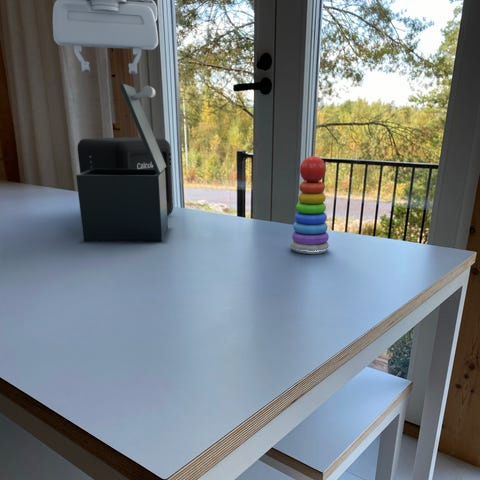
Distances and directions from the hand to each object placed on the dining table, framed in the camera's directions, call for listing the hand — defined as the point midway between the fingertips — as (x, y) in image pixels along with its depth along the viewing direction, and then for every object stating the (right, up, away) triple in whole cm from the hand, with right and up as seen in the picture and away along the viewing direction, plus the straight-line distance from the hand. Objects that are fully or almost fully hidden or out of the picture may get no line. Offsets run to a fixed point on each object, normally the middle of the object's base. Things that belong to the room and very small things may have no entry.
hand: (110, 72), depth 97 cm
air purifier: (-2, -23, +31) cm, 39 cm away
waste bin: (+1, -31, +13) cm, 34 cm away
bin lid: (+6, -10, +5) cm, 12 cm away
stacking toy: (+41, -36, +3) cm, 55 cm away
